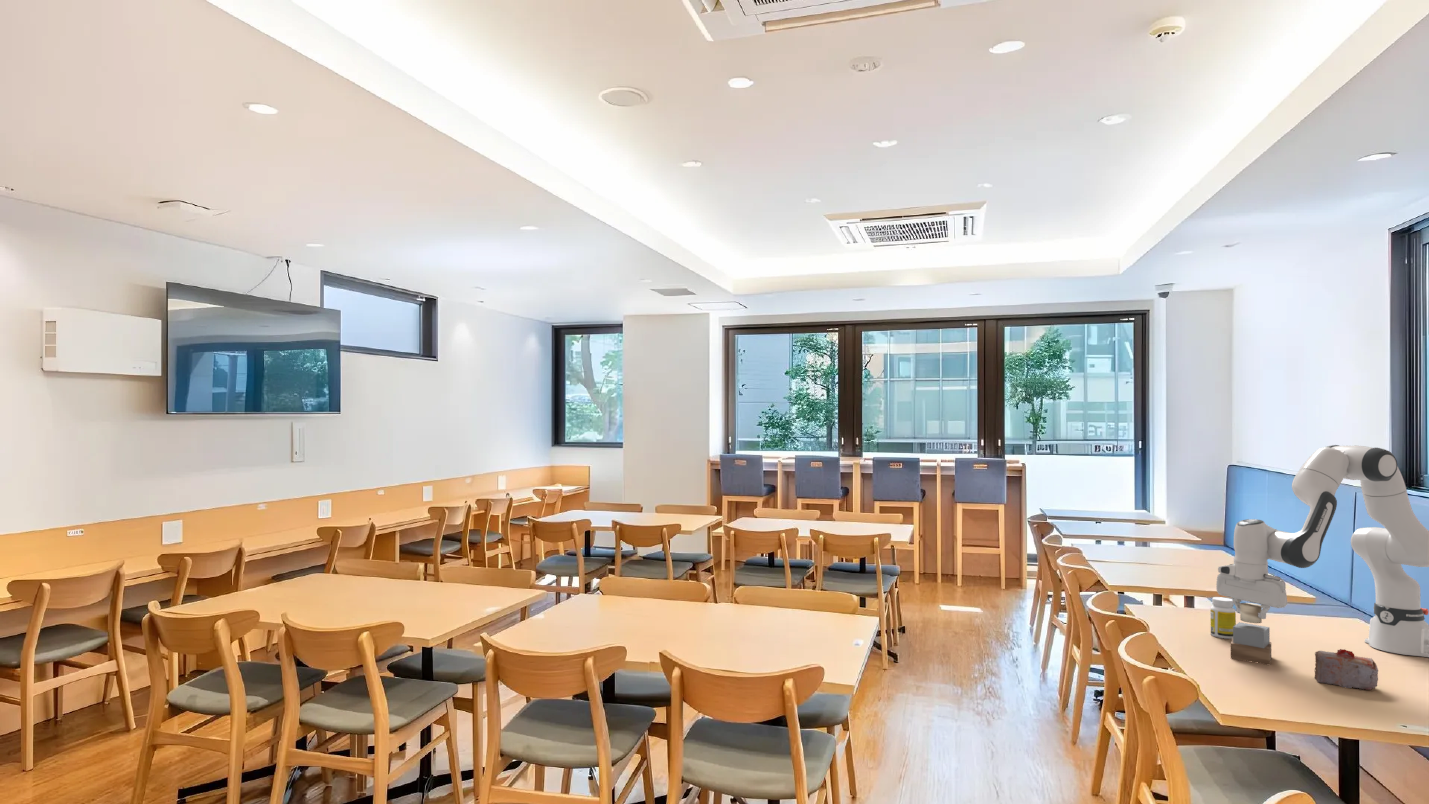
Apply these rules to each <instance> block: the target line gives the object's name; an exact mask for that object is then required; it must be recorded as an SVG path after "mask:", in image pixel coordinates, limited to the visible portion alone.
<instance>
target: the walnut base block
mask: <svg viewBox="0 0 1429 804" xmlns="http://www.w3.org/2000/svg"><path fill="white" fill-rule="evenodd" d="M1231 658H1232V659H1231ZM1230 659H1231V660H1236V661H1237V660H1238V661H1242V660H1243V661H1244V662H1249V661H1252V662H1251V663H1255V662H1258V663H1257V664H1263V665H1267V664H1270V665H1271V662H1272V642H1271V641H1270V643H1269V644H1268V645H1267V646H1266V647H1265V648H1259V647H1253V646H1248V645H1242V644H1237V643H1233V638H1232V639H1231V641H1230ZM1243 661H1242V662H1243ZM1270 661H1271V662H1270Z"/></svg>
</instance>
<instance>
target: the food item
mask: <svg viewBox="0 0 1429 804" xmlns="http://www.w3.org/2000/svg"><path fill="white" fill-rule="evenodd" d="M1314 657H1315V658H1314V659H1315V661H1314V662H1315V664H1314V665H1315V667H1314V669H1313V670H1314V679H1315V680H1316V682H1317V683H1320V684H1327V685H1332V684H1333V685H1332V686H1340V687H1342V688H1344V687H1346V689H1347V688H1348V689H1351V688H1352V687H1353V689H1358V688H1359V689H1358V690H1364V689H1366V691H1370V690H1373V689H1376V688H1377V687H1378V681H1379V668H1378V665H1377V663H1376V662H1375V661H1374V659H1373V658H1372V657H1371V658H1370V657H1365V656H1364V657H1363V656H1357V655H1355V653H1353V651H1351V650H1346V648H1345V649H1342V648H1340V649H1337V651H1336V652H1333V651H1325V650H1318V651H1315V652H1314Z"/></svg>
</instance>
